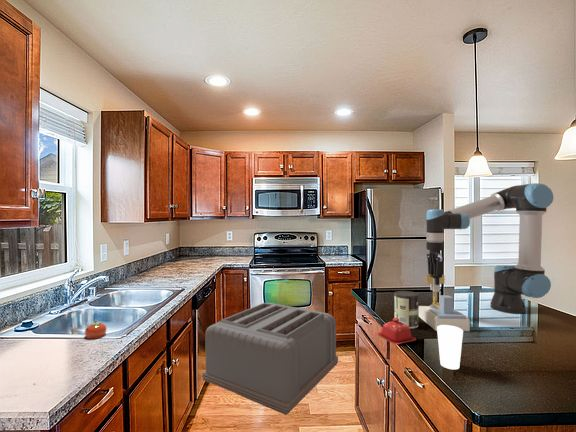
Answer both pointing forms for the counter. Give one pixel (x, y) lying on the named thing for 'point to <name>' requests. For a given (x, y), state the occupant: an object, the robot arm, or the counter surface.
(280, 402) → the toaster
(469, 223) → the robot arm
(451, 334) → the cup
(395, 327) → the butter dish
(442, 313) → the cover
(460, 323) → the housing
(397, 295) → the coffee can
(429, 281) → the l shaped latch
